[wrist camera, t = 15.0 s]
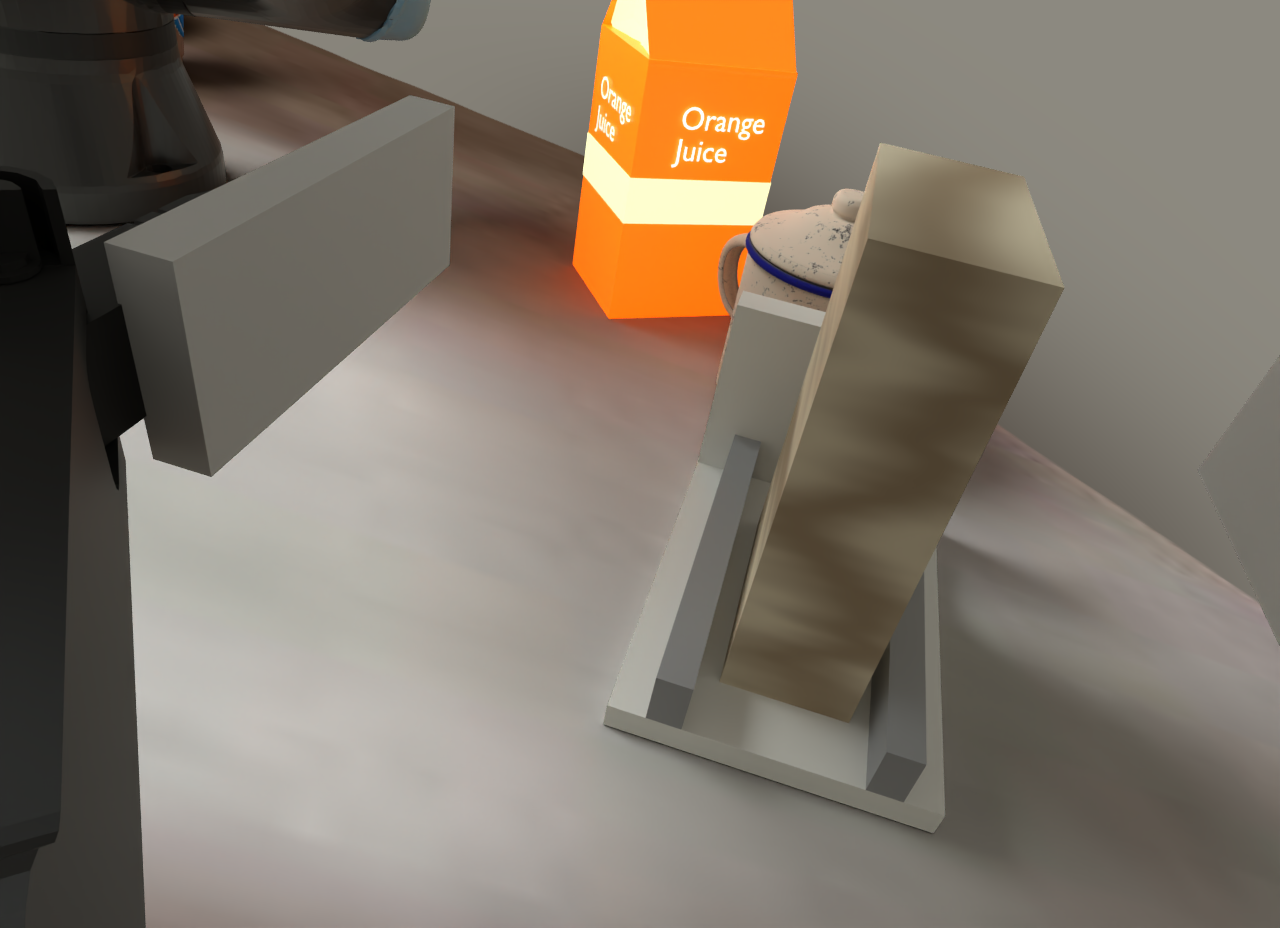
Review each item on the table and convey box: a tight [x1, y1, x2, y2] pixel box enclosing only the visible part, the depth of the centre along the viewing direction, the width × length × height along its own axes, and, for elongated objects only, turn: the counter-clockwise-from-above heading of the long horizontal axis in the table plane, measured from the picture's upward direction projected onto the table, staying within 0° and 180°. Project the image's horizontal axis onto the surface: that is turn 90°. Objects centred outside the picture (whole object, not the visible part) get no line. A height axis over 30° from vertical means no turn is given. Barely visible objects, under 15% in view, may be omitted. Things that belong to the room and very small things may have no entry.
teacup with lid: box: [716, 189, 864, 387], centre depth 44 cm, size 12×9×12 cm
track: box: [603, 291, 945, 833], centre depth 31 cm, size 16×11×9 cm
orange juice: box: [573, 0, 798, 319], centre depth 50 cm, size 8×9×20 cm
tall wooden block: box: [719, 143, 1064, 723], centre depth 28 cm, size 4×9×16 cm, turn 165°
